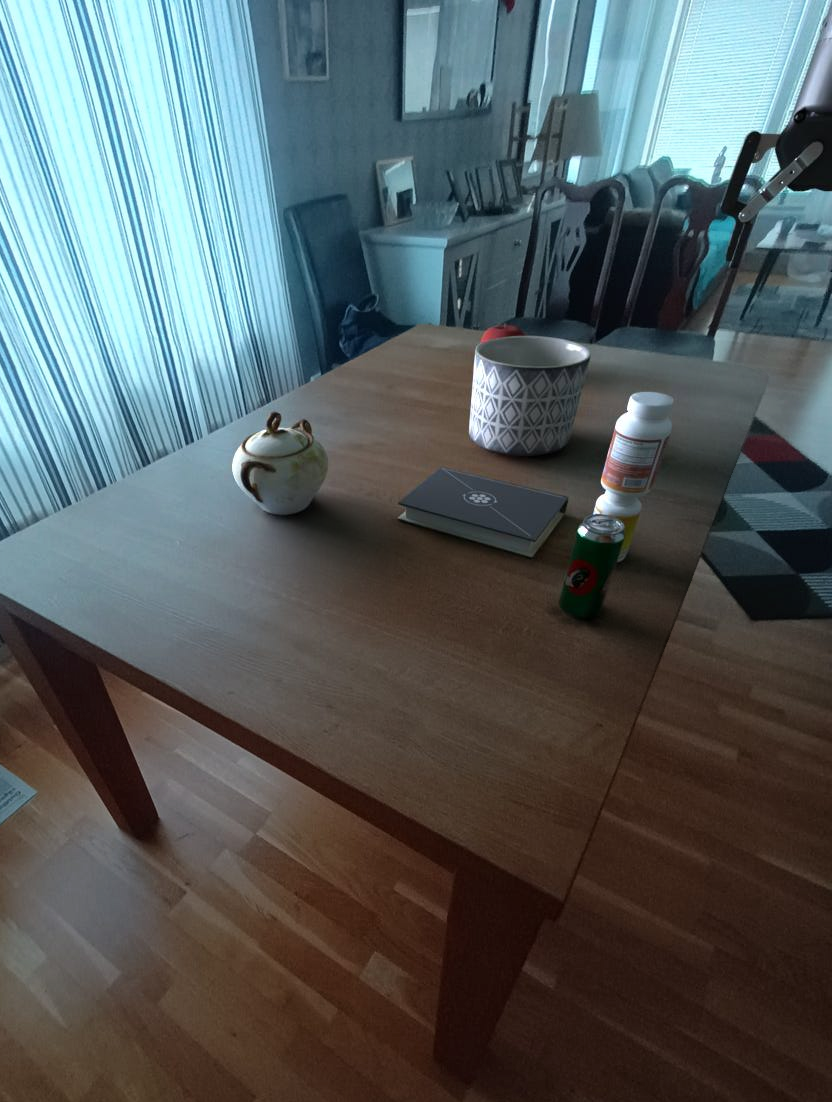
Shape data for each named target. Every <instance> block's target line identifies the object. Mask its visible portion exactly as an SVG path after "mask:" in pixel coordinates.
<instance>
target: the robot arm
mask: <svg viewBox="0 0 832 1102" xmlns="http://www.w3.org/2000/svg"><path fill="white" fill-rule="evenodd" d="M810 58H811V59H810V61H809V65H808V67H807V69H806V72H805V73H806V74H805V76H804V79H803V81H802V85H801V87H800V90H799V92H798V96H797V99H796V101H795V105H794V107H793V110H792V113H791V116H790V119H789V120H788V122H787V124H786V126H785V127H784V128H783V130H782V131H781V132H780V133H766V132H765V133H763V132H762V133H760V132H759V131H757V130H752V131H749V132H748V133H747V134H746V135H745V136H744V138H743V141H742V145H741V147H740V150H739V153H738V155H737V158H736V160H735V164H734V165H733V169H732V172H731V174H730V176H729V180H728V183H727V185H726V188H725V190H724V193H723V197H722V199H721V202H720V205H719V206H720V207H719V208H720V212H721V213H722V214H724V215H727V216H729V217H731V218H733V219H734V226H733V228H732V229H733V230H732V232H731V235H730V237H729V240H728V243H727V246H726V250H725V253H724V255H725V262H729V264H728V269H738V267H739V265H740V262H741V258H742V256H743V253H744V251H745V247H746V244H747V241H748V239H749V236H750V233H751V230H752V226H753V218H754V217H755V216H756V215H757V214H758V213H759V212H760V211H762V210H763V208H764V207H765V206H767V205H768V204H769V203H770V202H772V200H774V199H775V198H776V197H778V195H779V194H780V193H781V192H782V191H783V190H784V189H786V188H788V189H789V190H790V191H792V192H797V193H801V192H804V193H805V192H807V191H811V190H818V191H821V192H832V0H831V1H830V4H829V7H828V10H827V12H826V15H825V17H824V18H823V20H822V23H821V25H820V29H819V36H818V38H817V41H816V44H815V46H814V50H813V52H812V55H811V57H810ZM773 148H774V152H775V156H776V160H777V163H778V166H779V169H778V170H777V171H776V172H775V173H774V174H773V175H772V176H771V177H770V178H769V179H768V180H767V181H766V182H765V183H764V184H763V185H762V186H761V187H760V189H759V190H758V191H757V192H756V193H754V195H752V196H751V198H749V199H748V201H746V202H744V201H743V200H740V199H739V197H740V194H741V192H742V190H743V187H744V184H745V182H746V179H747V176H748V173H749V171H750V168H751V166H752V164H757V163H759V162H760V161H762V159H763V158H764V156H765V154H766V153H767V152H768V151H769V150H771V149H773ZM827 271H828V272H829V273H832V258H831V259H830V261H829V264H828V266H827Z"/></svg>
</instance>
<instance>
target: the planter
mask: <svg viewBox="0 0 832 1102" xmlns="http://www.w3.org/2000/svg"><path fill="white" fill-rule="evenodd" d="M591 357H592V352H591V350H590V349H589V348H588V347H587V346H585V345H584V344H581V343H578V342H577V341H572V340H568V339H564V338H557V337H551V336H543V335H542V336H541V335H525V336H511V337H502V338H496V339H492V340H488V341H485V342H483V343H481V344H480V343H479V344H478V345H477V346H476V347H475V350H474V363H473V376H472V387H471V401H470V413H469V427H468V434H469V437H470V439H471V440H472V442H474V443H475V444H476V445H477V446H479V447H480V448H483V449H484V450H487V451H490V452H493V453H497V454H500V455H501V454H503V455H507V456H516V457H532V456H533V457H534V456H542V455H543V456H544V455H547V454H551V453H554V452H557V451H560V450H561V449H563V448H564V447H566V446H567V444H568V443H569V442H570V439H571V435H572V431H573V427H574V424H575V420H576V419H575V418H576V415H577V411H578V408H579V404H580V400H581V395H582V392H583V387H584V384H585V380H586V376H587V373H588V370H589V369H588V368H589V365H590V360H591Z"/></svg>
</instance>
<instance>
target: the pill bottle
mask: <svg viewBox="0 0 832 1102" xmlns="http://www.w3.org/2000/svg"><path fill="white" fill-rule="evenodd" d="M674 402H675V399H674V398H673V397H672V396H671V395H668V394H665V393H661V392H655V391H640V392H639V391H638V392H635V393H633V394H631V395H630V397H629V400H628V404H627V407H626V408H627V410H626V411H628V412H625V413H623V414H622V415H621V416H620V417H619V418H618V419H617V420H616V423H615V427H614V430H613V433H612V438H611V441H610V445H609V448H608V453H607V456H606V460H605V463H604V468H603V470H602V475H601V479H600V483H601V486H602V488H603V489H604V490H605V491H606V490H607V491H609V492H611V493H614V494H617V495H621V496H627V497H637V496H639V497H642V496H644V495H647V494H648V493H650V492H651V491H652V489H653V488H654V485H655V481H656V478H657V475H658V473H659V472H658V471H659V469H660V466H661V463H662V460H663V457H664V454H665V451H666V448H667V445H668V442H669V439H670V436H671V434H672V429H673V423H672V422H671V420H670V418H669V417H668V416H669V415H670V414H671V412H672V410H673V406H674Z"/></svg>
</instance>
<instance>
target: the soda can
mask: <svg viewBox="0 0 832 1102" xmlns="http://www.w3.org/2000/svg"><path fill="white" fill-rule="evenodd" d="M624 539H625V532H624V524H623V522H622V521H621V520H619V519H618V518H616V517H613V516H610V515H605V514H593V513H592V514H589V515H587V516H585V517H584V518H583V520H582V522H581V523H580V524H579V525H578V526H577V529H576V533H575V537H574V540H573V545H572V548H571V552H570V556H569V560H568V564H567V568H566V571H565V576H564V579H563V583H562V587H561V590H560V594H559V599H558V605H559V607H560V609H561V610H562V611H563V612H564V613H565V614H566V615H567V616H570V617H571V618H572V617H573V618H575V619H581V620H587V619H591V618H593V617H596V616H597V615H599V614H600V613H601V611H602V609H603V606H604V603H605V600H606V597H607V594H608V591H609V587H610V585H611V582H612V579H613V576H614V574H615V573H614V572H615V570H616V566H617V563H618V562H617V560H618V557H619V554H620V551H621V548H622V545H623V542H624Z"/></svg>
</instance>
